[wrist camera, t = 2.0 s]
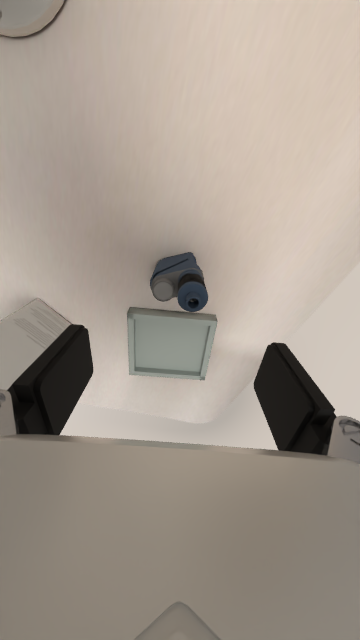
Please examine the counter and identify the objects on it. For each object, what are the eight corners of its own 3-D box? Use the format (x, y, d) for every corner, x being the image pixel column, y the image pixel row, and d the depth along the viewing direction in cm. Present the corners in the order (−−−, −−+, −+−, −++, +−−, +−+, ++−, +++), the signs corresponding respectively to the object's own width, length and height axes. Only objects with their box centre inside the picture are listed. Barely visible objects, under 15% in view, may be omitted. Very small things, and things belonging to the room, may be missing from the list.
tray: (130, 307, 28) (127, 313, 27) (215, 314, 29) (217, 321, 27) (131, 366, 34) (129, 374, 32) (203, 372, 34) (204, 380, 33)
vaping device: (200, 270, 26) (213, 315, 15) (159, 279, 26) (146, 329, 16) (196, 249, 24) (207, 283, 14) (154, 259, 25) (134, 299, 15)
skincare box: (46, 354, 32) (-50, 462, 19) (6, 327, 30) (-138, 429, 16) (77, 325, 30) (-9, 427, 16) (36, 293, 27) (-106, 381, 14)
